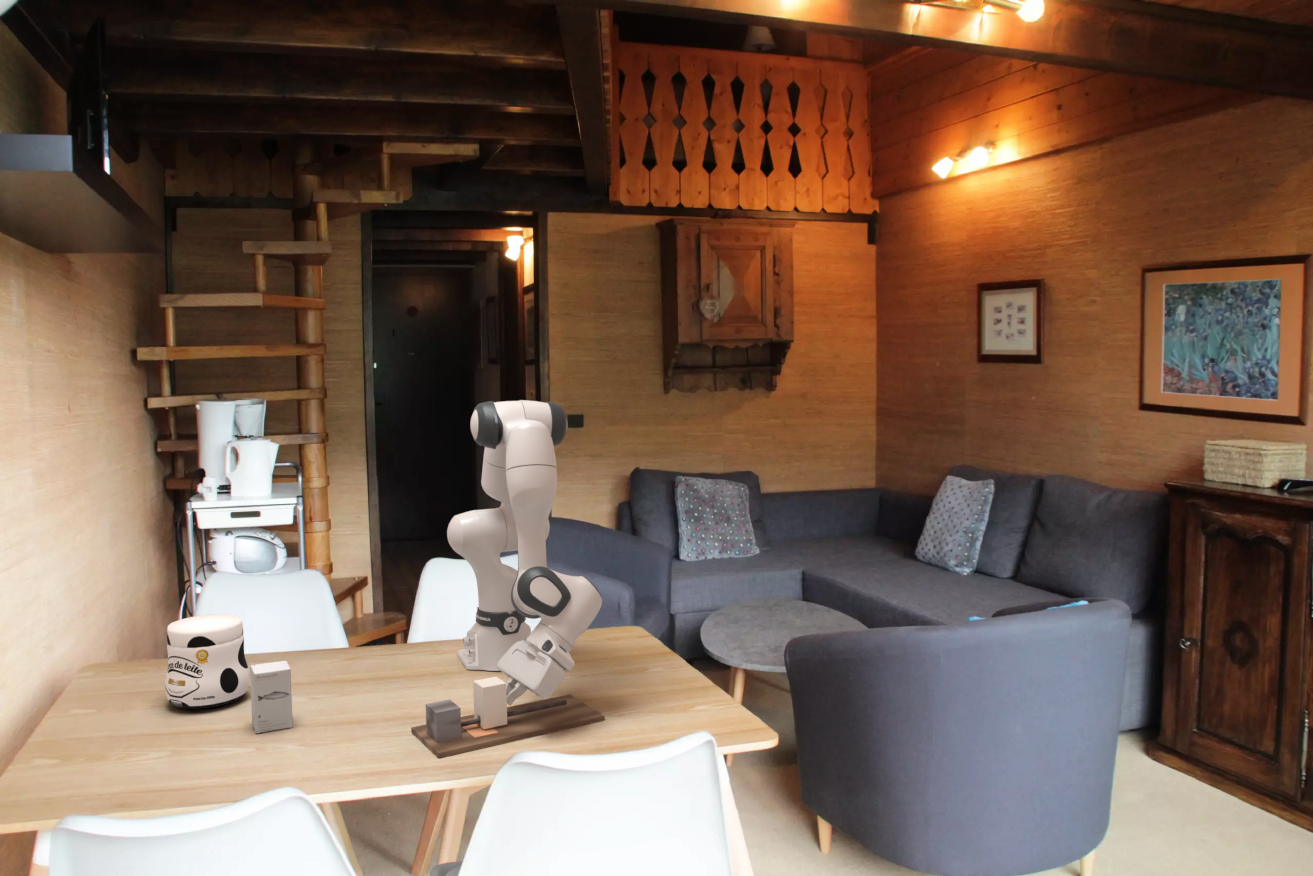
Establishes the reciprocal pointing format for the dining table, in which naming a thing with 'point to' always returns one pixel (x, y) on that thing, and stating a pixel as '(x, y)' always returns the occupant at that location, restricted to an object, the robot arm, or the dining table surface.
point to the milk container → (206, 661)
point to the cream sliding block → (490, 702)
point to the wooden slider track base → (523, 721)
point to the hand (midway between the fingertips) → (504, 701)
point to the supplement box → (271, 696)
